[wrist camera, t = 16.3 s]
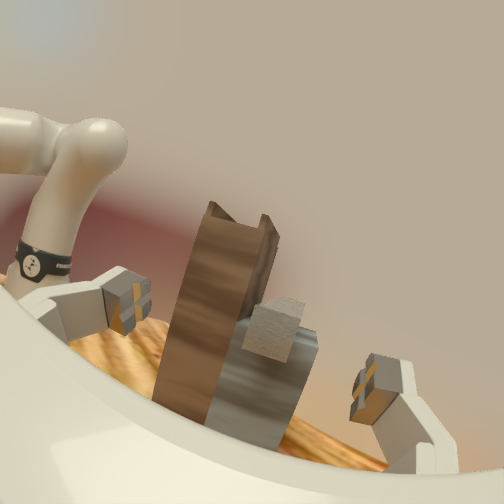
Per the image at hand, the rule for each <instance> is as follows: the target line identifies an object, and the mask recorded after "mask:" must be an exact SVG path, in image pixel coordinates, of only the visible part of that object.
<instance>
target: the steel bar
mask: <svg viewBox="0 0 504 504" xmlns="http://www.w3.org/2000/svg"><path fill="white" fill-rule="evenodd" d="M304 305H305V303H303V302H299V301H296V300H293V299H289V298H286V297H283V298H279V299H275V300H271V301H267V302H264V303H259V304H255V307H254V310H253V313H252V317H251V320H250V323H249V326H248V329H247V332H246V335H245V338H244V341H243V345H242V348H243V349H245V350H248V351H251V352H254V353H257V354H260V355H263V356H266V357H269V358H272V359H275V360H278V361H281V362H284V363H286V361H287V358H288V356H289V353H290V350H291V347H292V344H293V341H294V338H295V335H296V332H297V329H298V326H299V323H300V320H301V317H302V313H303V309H304Z"/></svg>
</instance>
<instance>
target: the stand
mask: <svg viewBox="0 0 504 504" xmlns="http://www.w3.org/2000/svg"><path fill="white" fill-rule="evenodd" d="M279 238H280V236H279V234H278V232H277V231H276V229H275V227H274V226H273V223H272V221H271V219H270V218H269V216H268V215H265V214H262V216H261V220H260V223H259V226H258V228H254V227H250V226H246V225H243V224H239V223H237V222H236V221H235V220H233V218H231V217H230V216H229V215H228V214H227V213H226V212H225V211H224V210H223V209H222V208H221V207H220V206H219V205H218V204H217V203H216V202H212V201H210V202H209V206H208V208H207V211H206V214H204V216H203V218H202V221H201V225H200V227H199V230H198V233H197V236H196V239H195V243H194V246H193V249H192V252H191V255H190V258H189V262H188V265H187V268H186V271H185V275H184V278H183V281H182V285H181V288H180V291H179V295H178V298H177V302H176V305H175V309H174V312H173V316H172V319H171V323H170V327H169V331H168V334H167V338H166V342H165V346H164V350H163V354H162V358H161V362H160V366H159V370H158V374H157V378H156V383H155V387H154V391H153V396H152V401H154V402H155V403H157V404H159V405H161V406H163V407H165V408H167V409H169V410H171V411H173V412H175V413H177V414H179V415H181V416H183V417H185V418H187V419H189V420H192V421H194V422H196V423H198V424H201V425H203V426H205V427H207V428H210V429H212V430H215V431H217V432H220V433H222V434H225V435H227V436H230V437H232V438H235V439H238V440H241V441H243V442H246V443H249V444H252V445H255V446H258V447H261V448H264V449H268V450H271V451H274V452H276V450H277V448H278V446H279V444H280V441H281V439H282V437H283V435H284V433H285V431H286V428H287V426H288V424H289V422H290V419H291V417H292V415H293V413H294V410H295V408H296V405H297V403H298V401H299V398H300V396H301V393H302V391H303V388H304V386H305V383H306V381H307V378H308V376H309V373H310V371H311V368H312V365H313V363H314V360H315V357H316V354H317V351H318V342H317V336H316V332H315V331H312V330H309V329H306V328H303V327H299V326H298V329H297V332H296V335H295V338H294V341H293V344H292V347H291V350H290V353H289V356H288V358H287V361H286V363H284V362H281V361H278V360H275V359H272V358H269V357H266V356H263V355H260V354H257V353H254V352H251V351H248V350H245V349H243V348H242V345H243V341H244V338H245V335H246V332H247V329H248V326H249V323H250V320H251V317H252V313H253V310H254V307H255V304H259V303H261V301H262V298H263V295H264V291H265V288H266V285H267V281H268V278H269V275H270V272H271V269H272V265H273V262H274V259H275V256H276V252H277V249H278V248H277V245H278V242H279Z"/></svg>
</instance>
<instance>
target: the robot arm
mask: <svg viewBox="0 0 504 504" xmlns="http://www.w3.org/2000/svg"><path fill="white" fill-rule="evenodd" d="M127 143H128V142H127V136H126V134H125V131H124V129H123V128H122V127H121V125H119V124H118V123H117V122H115V121H113V120H109V119H103V118H89V119H86V120H83V121H81V122H78V123H75V124H63V123H59V122H56V121H53V120H50V119H48V118H45V117H43V116H40V115H39V114H38V113H36V112H31V111H25V110H19V109H11V108H4V107H0V173H5V174H22V175H23V174H24V175H35V176H46V178H45V180H44V182H43V184H42V186H41V187H40V189H39V191H38V192H37V194H36V195H35V196H34V198H33V201H32V204H31V207H30V210H29V213H28V217H27V220H26V224H25V227H24V231H23V235H22V239H20V240H19V243H18V246H17V251H16V256H15V258H16V261H15V262H14V263H13V264H11V265H10V266H9V267H8V271H7V275H6V280H5V284H4V287H3V286H2V285H1V284H0V504H504V468H499V469H493V470H486V471H478V472H469V473H459V469H458V456H457V447H456V442H455V441H454V440H453V438H452V437H451V436H450V434H449V433H448V432H447V430H446V429H445V428H444V426H443V425H442V424H441V423H440V421H439V420H438V419H437V417H436V416H435V415H434V413H433V412H432V411H431V409H430V408H429V407H428V406H427V404H426V403H425V402H424V400H423V399H422V398H421V397H417V389H416V382H415V376H414V370H413V364H412V362H411V361H406V360H401V359H395V358H390V357H386V356H382V355H378V354H373V353H371V354H370V355H369V357H368V358H367V360H366V368H364V369H362V370H361V371H360V372H359V374H358V376H357V378H356V380H355V383H354V386H353V391H352V396H353V398H354V400H355V401H354V402H353V403H352V405H351V410H350V420H349V421H352V422H357V423H361V424H366V425H370V426H372V429H373V431H374V434H375V436H376V438H377V440H378V442H379V445H380V447H381V449H382V451H383V454H384V456H385V458H386V460H387V463H388V465H389V467H388V468H387V469H386V470H384V471H383V472H372V471H364V470H356V469H350V468H343V467H338V466H332V465H327V464H322V463H317V462H313V461H308V460H304V459H300V458H296V457H292V456H288V455H285V454H281V453H278V452H274V451H271V450H268V449H264V448H261V447H258V446H255V445H252V444H249V443H246V442H243V441H241V440H238V439H235V438H232V437H230V436H227V435H225V434H222V433H220V432H217V431H215V430H212V429H210V428H207V427H205V426H203V425H201V424H198V423H196V422H194V421H192V420H189V419H187V418H185V417H183V416H181V415H179V414H177V413H175V412H173V411H171V410H169V409H167V408H165V407H163V406H161V405H159V404H157V403H155V402H154V401H152V400H150V399H148V398H146V397H144V396H143V395H141V394H139V393H137V392H136V391H134V390H132V389H131V388H129V387H127V386H126V385H124V384H122V383H121V382H119V381H118V380H116V379H115V378H113V377H111V376H110V375H108V374H107V373H105V372H104V371H102V370H101V369H99V368H98V367H96V366H95V365H94V364H92V363H91V362H89V361H88V360H86V359H85V358H84V357H82V356H81V355H80V354H78V353H77V352H76V351H74V350H73V349H72V348H70V346H69V343H68V342H70V341H73V340H76V339H79V338H82V337H85V336H88V335H91V334H94V333H97V332H100V331H103V330H106V329H108V328H110V329H112V330H114V331H116V332H118V333H120V334H121V335H123V336H126V335H127V334H128V333H129V332H131V331H132V330H133V329H134V328H135V327H136V322H139V321H143V320H144V319H145V318H146V317H147V316H148V314H149V312H150V310H151V306H152V299H151V297H150V295H149V293H148V292H149V291H150V290H151V281H150V280H149V279H147V278H145V277H143V276H141V275H138V274H137V273H134V272H132V271H130V270H127V269H125V268H123V267H121V266H116V267H115V268H113V269H111V270H109V271H108V272H106V273H104V274H103V275H101V276H99V277H98V278H96V279H95V280H93V281H91V282H89V281H83V282H76V283H70V280H69V276H68V274H69V273H70V268H71V265H72V258H73V255H71V253H72V249H73V245H74V242H75V239H76V235H77V231H78V229H79V226H80V223H81V220H82V218H83V215H84V213H85V211H86V209H87V207H88V206H89V204H90V202H91V200H92V199H93V197H94V196H95V194H96V192H97V191H98V189H99V188H100V186H101V185H102V183H103V182H104V181H105V180H106V178H107V177H108V176H109V175H110V174H112V173H113V172H114V171H116V170H117V169H118V168H119V167H120V166H121V164H122V163H123V161H124V159H125V156H126V154H127V148H128V144H127Z"/></svg>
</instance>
